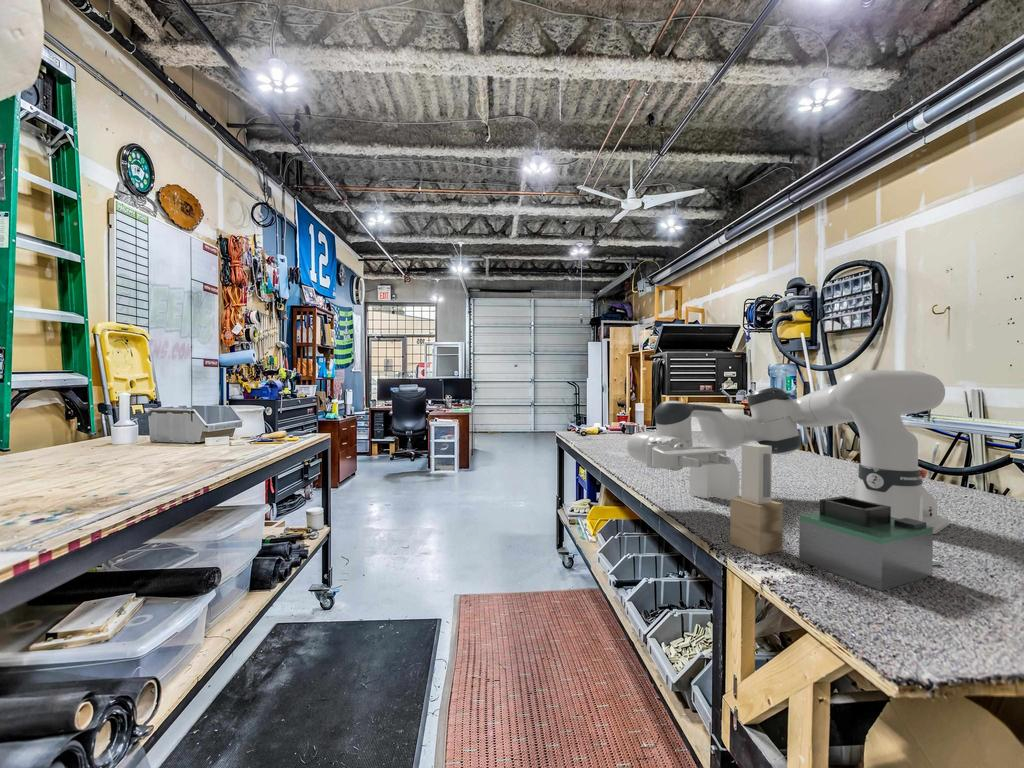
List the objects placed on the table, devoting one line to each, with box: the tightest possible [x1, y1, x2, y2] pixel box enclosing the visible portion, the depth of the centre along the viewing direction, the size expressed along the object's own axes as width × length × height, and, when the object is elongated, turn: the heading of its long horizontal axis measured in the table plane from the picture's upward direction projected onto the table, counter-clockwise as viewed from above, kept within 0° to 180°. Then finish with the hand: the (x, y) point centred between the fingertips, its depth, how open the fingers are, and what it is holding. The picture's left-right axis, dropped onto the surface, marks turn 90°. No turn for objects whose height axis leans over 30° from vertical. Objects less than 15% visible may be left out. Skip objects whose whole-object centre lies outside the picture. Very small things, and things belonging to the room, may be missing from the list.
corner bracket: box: [689, 458, 741, 501], centre depth 136 cm, size 11×11×12 cm
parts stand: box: [729, 496, 784, 557], centre depth 93 cm, size 7×7×10 cm
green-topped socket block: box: [798, 495, 934, 592], centre depth 83 cm, size 16×14×12 cm
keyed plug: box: [740, 443, 773, 504], centre depth 92 cm, size 4×5×12 cm
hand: (714, 462), depth 103 cm, fingers open, 8 cm apart
